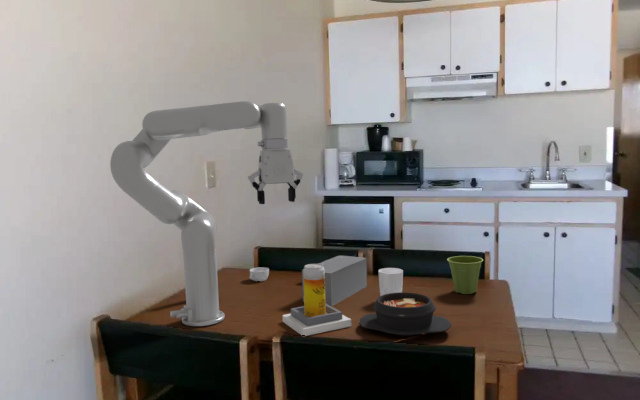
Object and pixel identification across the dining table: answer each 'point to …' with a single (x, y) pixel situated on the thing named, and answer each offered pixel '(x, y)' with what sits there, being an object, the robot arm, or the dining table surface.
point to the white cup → (390, 280)
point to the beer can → (314, 290)
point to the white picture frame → (316, 321)
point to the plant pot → (465, 273)
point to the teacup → (259, 274)
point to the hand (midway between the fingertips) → (276, 202)
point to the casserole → (404, 315)
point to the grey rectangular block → (342, 278)
